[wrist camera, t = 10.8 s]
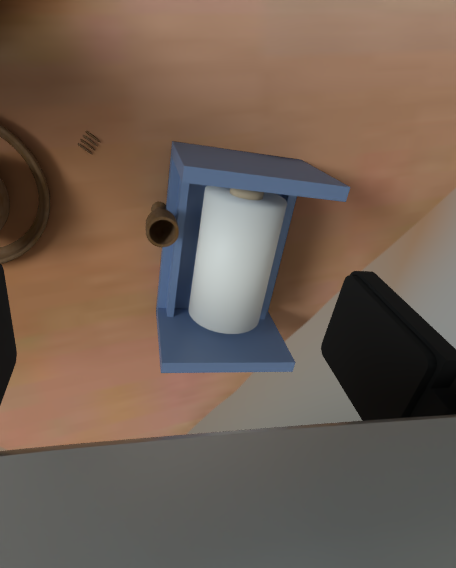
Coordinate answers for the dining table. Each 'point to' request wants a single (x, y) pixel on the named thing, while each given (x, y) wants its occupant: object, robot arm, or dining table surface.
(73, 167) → the dining table surface
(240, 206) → the roll
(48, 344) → the dining table surface
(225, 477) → the robot arm
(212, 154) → the holder
